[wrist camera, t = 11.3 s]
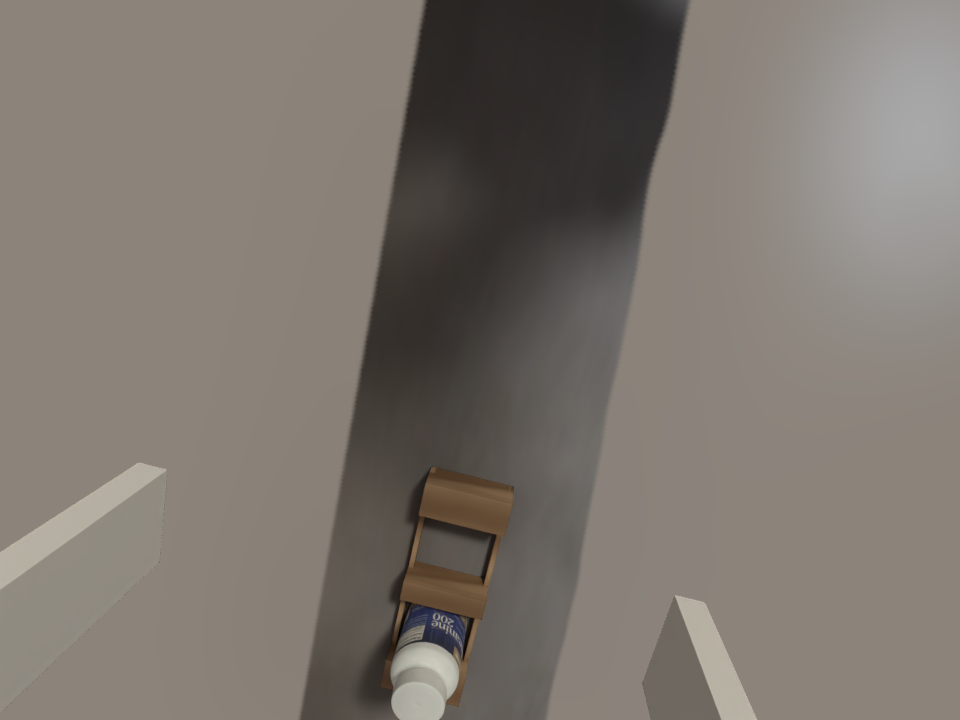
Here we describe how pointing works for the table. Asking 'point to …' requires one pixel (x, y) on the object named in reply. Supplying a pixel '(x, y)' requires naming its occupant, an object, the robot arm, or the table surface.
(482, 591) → the brown wooden rack
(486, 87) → the table surface
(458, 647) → the pill bottle
